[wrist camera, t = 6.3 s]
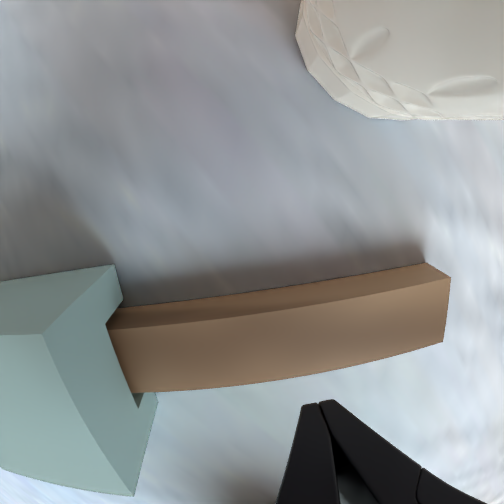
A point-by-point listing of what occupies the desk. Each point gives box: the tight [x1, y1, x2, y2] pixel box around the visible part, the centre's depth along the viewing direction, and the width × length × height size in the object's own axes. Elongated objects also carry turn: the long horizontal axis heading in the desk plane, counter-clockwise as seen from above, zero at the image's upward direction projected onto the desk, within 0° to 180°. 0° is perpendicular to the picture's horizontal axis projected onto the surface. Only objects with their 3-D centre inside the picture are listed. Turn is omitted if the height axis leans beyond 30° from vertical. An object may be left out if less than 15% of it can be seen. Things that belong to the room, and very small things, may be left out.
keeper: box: [0, 264, 158, 497], centre depth 10 cm, size 7×7×6 cm
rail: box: [105, 263, 451, 393], centre depth 10 cm, size 6×22×7 cm, turn 98°
